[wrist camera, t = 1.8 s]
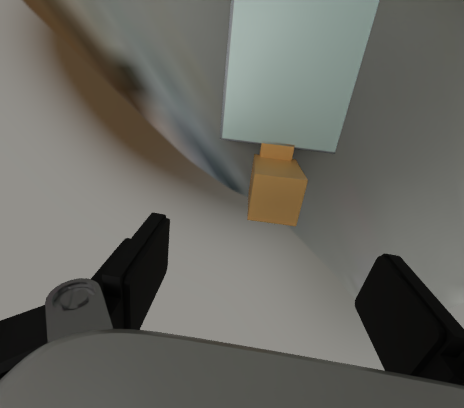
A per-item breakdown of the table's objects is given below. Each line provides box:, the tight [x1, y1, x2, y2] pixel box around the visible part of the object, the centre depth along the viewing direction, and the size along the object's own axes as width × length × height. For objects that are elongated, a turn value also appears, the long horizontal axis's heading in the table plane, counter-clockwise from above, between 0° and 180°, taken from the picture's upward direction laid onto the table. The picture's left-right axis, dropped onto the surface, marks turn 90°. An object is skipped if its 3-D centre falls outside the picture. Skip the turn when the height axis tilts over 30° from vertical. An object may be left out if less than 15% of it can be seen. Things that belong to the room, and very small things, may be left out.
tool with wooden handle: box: [222, 0, 380, 226], centre depth 19 cm, size 21×10×7 cm, turn 174°
